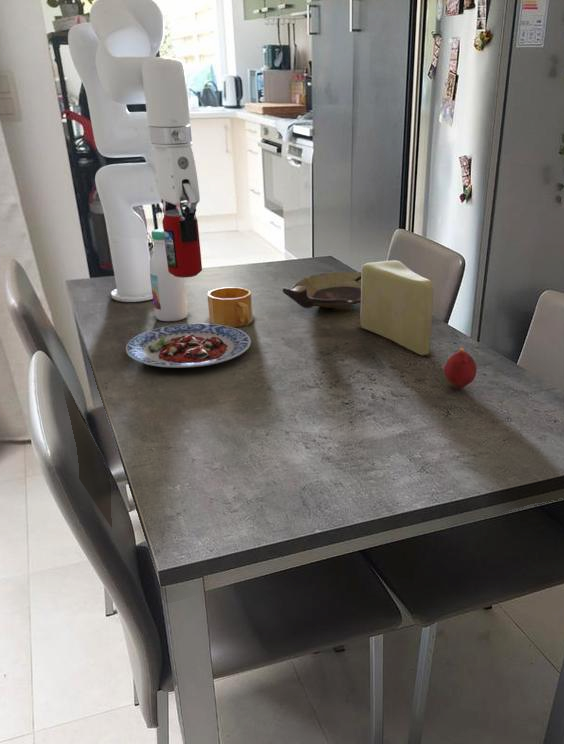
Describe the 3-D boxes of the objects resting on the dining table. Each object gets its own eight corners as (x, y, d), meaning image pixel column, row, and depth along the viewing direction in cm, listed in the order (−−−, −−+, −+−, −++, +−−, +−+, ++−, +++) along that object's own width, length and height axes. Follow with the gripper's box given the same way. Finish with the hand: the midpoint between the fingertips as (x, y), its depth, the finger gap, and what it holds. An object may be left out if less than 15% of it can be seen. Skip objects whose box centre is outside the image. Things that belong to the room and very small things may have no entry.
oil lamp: (401, 308, 173) (402, 277, 169) (292, 326, 162) (291, 293, 158) (357, 286, 190) (358, 257, 186) (256, 300, 179) (254, 270, 175)
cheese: (446, 352, 147) (452, 281, 139) (406, 359, 143) (410, 287, 135) (395, 322, 164) (398, 257, 156) (358, 327, 160) (360, 261, 153)
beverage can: (170, 270, 143) (163, 208, 136) (203, 269, 143) (197, 208, 137) (166, 279, 137) (158, 215, 131) (201, 278, 137) (195, 214, 131)
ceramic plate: (273, 342, 152) (272, 329, 150) (207, 385, 132) (206, 370, 131) (176, 326, 161) (174, 313, 160) (100, 364, 141) (98, 350, 140)
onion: (476, 384, 132) (481, 344, 128) (471, 396, 128) (476, 355, 124) (446, 380, 134) (449, 341, 130) (440, 392, 129) (443, 351, 125)
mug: (203, 318, 167) (200, 291, 163) (240, 311, 171) (239, 284, 168) (228, 334, 157) (226, 305, 154) (267, 326, 162) (265, 298, 158)
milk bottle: (191, 312, 170) (182, 227, 160) (183, 322, 164) (173, 234, 153) (161, 311, 171) (150, 226, 161) (151, 321, 164) (139, 233, 154)
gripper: (209, 139, 123) (218, 244, 132) (171, 132, 135) (182, 228, 144) (169, 142, 119) (181, 249, 128) (134, 134, 132) (147, 232, 141)
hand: (181, 237), depth 136 cm, fingers closed on beverage can, 6 cm apart
